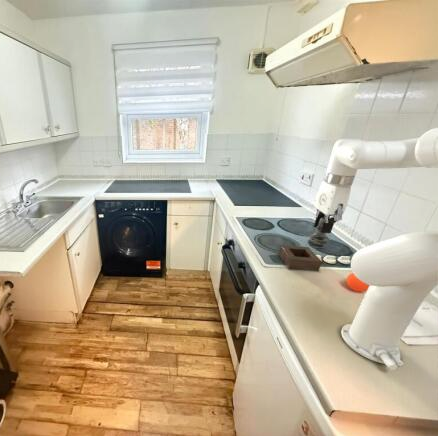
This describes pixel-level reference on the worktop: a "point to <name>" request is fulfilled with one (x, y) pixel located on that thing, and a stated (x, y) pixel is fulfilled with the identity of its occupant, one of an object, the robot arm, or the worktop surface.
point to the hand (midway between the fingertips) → (321, 229)
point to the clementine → (356, 283)
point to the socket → (299, 258)
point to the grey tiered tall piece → (318, 237)
